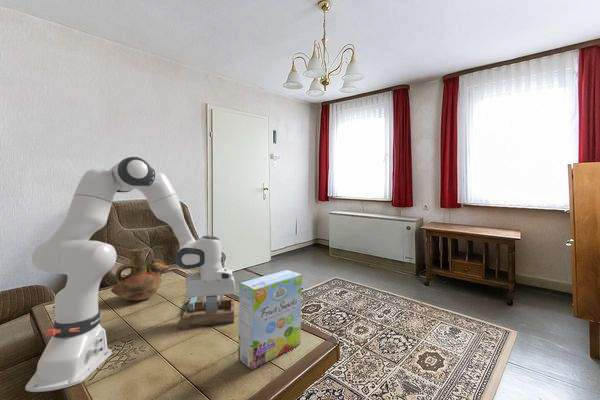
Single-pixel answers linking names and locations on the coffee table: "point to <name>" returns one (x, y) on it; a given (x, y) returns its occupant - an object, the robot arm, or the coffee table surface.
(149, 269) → the ceramic vessel
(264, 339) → the snack box
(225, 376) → the coffee table surface
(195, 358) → the coffee table surface
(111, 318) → the coffee table surface
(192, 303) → the retainer bar
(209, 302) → the jaw block
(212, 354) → the coffee table surface
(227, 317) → the brown wooden tray
